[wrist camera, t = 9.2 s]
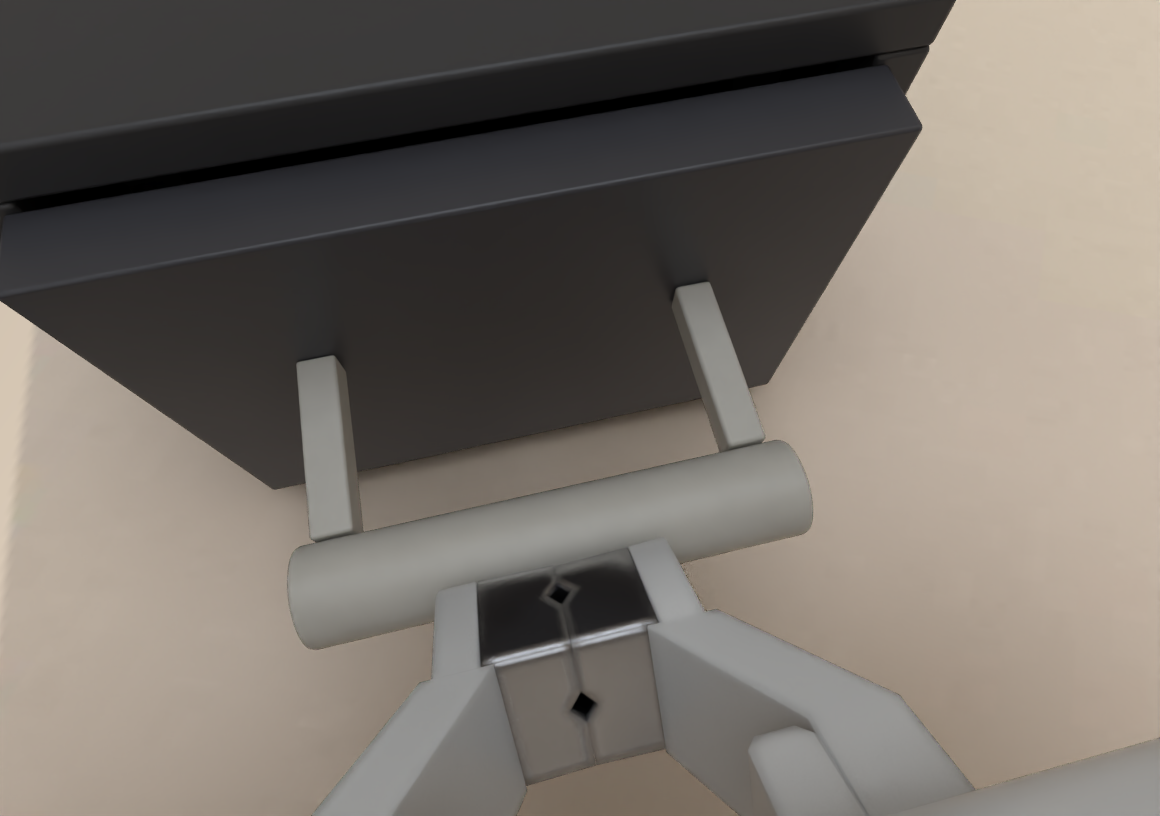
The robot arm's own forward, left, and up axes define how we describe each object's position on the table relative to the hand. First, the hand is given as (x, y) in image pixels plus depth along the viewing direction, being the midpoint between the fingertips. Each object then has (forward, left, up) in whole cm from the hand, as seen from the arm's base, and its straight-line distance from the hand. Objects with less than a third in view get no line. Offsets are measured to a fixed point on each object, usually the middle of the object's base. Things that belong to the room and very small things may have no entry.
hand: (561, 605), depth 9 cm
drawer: (+9, +3, -5) cm, 10 cm away
